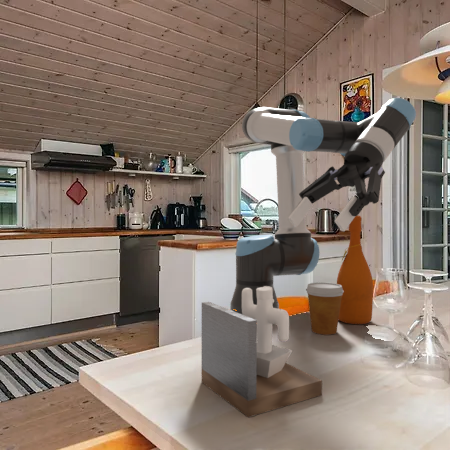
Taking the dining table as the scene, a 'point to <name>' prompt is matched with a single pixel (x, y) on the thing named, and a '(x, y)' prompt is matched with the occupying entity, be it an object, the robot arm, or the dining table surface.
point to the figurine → (267, 330)
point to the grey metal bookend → (230, 348)
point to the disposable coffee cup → (324, 306)
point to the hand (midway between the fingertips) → (314, 224)
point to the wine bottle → (355, 281)
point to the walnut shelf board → (270, 390)
